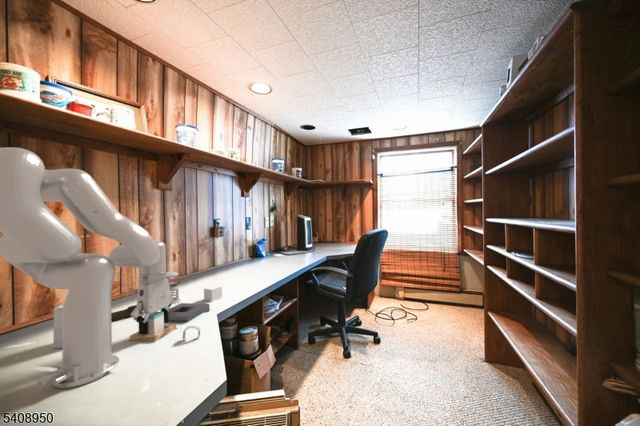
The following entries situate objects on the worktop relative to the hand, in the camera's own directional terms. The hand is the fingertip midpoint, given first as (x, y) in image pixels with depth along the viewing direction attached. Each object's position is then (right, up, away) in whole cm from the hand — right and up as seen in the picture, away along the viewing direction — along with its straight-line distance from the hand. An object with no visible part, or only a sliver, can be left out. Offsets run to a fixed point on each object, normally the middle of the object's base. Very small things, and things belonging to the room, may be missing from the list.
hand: (154, 327), depth 84 cm
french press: (-17, -5, +35) cm, 39 cm away
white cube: (+3, -4, +39) cm, 39 cm away
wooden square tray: (0, -3, 0) cm, 3 cm away
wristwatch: (+16, -3, -5) cm, 16 cm away
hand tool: (-27, -5, +16) cm, 32 cm away
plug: (0, -2, 0) cm, 2 cm away
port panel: (+1, -3, +17) cm, 17 cm away
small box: (-26, -4, -2) cm, 26 cm away
